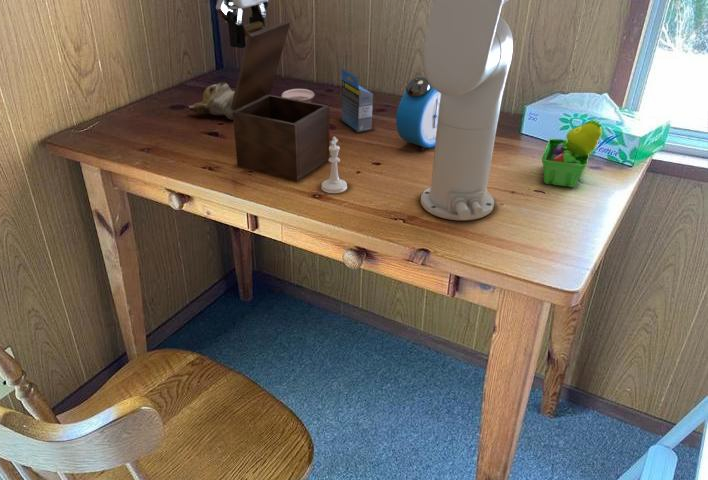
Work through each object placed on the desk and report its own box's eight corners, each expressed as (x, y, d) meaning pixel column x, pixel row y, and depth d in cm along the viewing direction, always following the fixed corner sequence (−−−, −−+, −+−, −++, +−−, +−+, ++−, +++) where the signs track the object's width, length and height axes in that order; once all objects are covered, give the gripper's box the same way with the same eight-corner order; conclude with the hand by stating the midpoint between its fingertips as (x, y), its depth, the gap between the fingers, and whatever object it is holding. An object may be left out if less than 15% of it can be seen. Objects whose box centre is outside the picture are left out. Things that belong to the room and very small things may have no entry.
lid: (290, 22, 116) (269, 9, 117) (251, 36, 107) (229, 21, 109) (270, 93, 127) (251, 80, 128) (233, 110, 118) (213, 97, 120)
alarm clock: (416, 157, 126) (422, 84, 118) (392, 149, 130) (396, 77, 121) (453, 139, 133) (461, 69, 125) (430, 132, 137) (436, 63, 129)
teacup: (273, 113, 151) (271, 88, 147) (321, 110, 151) (321, 85, 148) (276, 130, 141) (274, 104, 137) (327, 127, 141) (327, 101, 138)
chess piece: (352, 186, 116) (353, 136, 110) (336, 195, 113) (336, 144, 107) (332, 179, 119) (332, 130, 113) (315, 188, 116) (314, 138, 110)
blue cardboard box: (372, 130, 139) (374, 75, 132) (357, 132, 138) (358, 77, 131) (355, 117, 146) (356, 65, 139) (340, 120, 145) (340, 67, 138)
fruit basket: (544, 161, 122) (555, 106, 116) (591, 168, 119) (606, 111, 112) (535, 185, 114) (548, 126, 107) (587, 193, 111) (602, 133, 104)
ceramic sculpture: (225, 89, 139) (179, 83, 147) (230, 126, 143) (185, 118, 151) (255, 78, 145) (210, 72, 154) (259, 114, 150) (215, 106, 158)
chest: (329, 159, 126) (329, 105, 120) (297, 181, 118) (294, 125, 112) (272, 146, 133) (269, 94, 127) (237, 166, 125) (232, 112, 119)
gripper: (224, -60, 98) (235, 56, 109) (285, -71, 110) (289, 35, 120) (189, -61, 102) (203, 51, 112) (252, -71, 113) (259, 31, 124)
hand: (248, 42), depth 116 cm, fingers closed on lid, 5 cm apart
